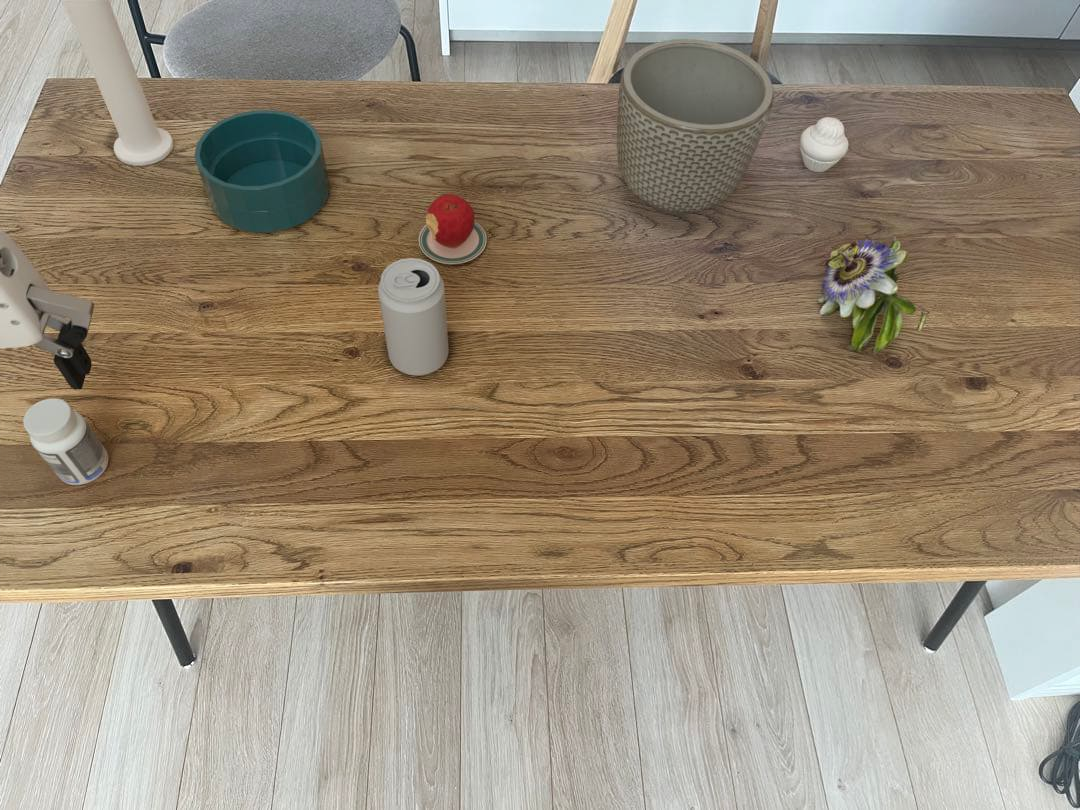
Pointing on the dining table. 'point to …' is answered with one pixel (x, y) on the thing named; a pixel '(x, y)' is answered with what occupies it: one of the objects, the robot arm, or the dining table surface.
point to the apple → (451, 231)
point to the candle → (118, 83)
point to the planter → (689, 122)
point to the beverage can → (414, 316)
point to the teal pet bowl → (263, 170)
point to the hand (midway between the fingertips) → (21, 378)
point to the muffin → (823, 144)
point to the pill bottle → (65, 441)
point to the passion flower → (867, 290)
